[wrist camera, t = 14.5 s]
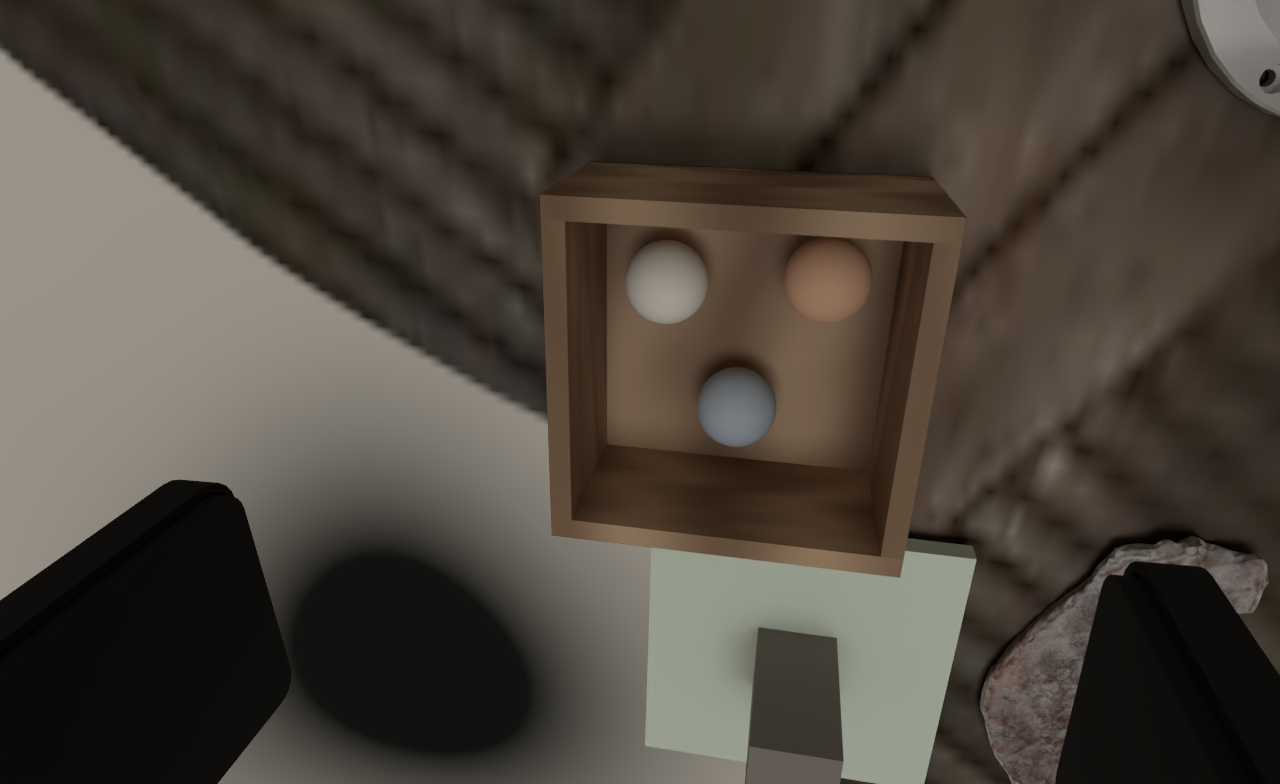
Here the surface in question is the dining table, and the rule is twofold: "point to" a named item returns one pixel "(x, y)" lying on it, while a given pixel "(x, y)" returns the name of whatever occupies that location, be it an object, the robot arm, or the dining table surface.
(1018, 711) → the fossil
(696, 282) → the ball cream
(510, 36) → the dining table surface
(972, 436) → the dining table surface
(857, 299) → the ball terracotta
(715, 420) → the ball slate
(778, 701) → the lid
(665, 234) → the walnut box
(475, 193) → the dining table surface
